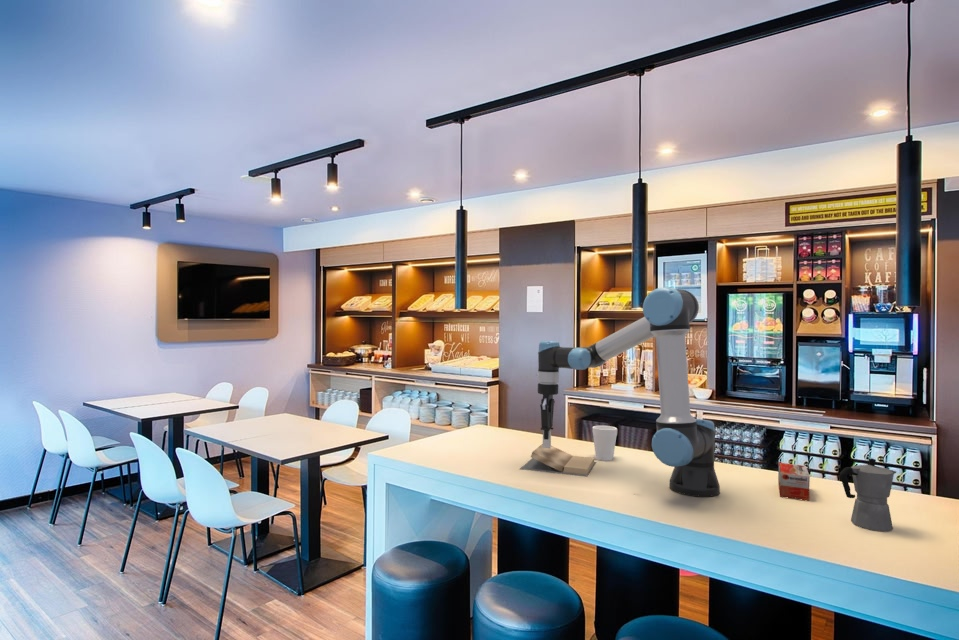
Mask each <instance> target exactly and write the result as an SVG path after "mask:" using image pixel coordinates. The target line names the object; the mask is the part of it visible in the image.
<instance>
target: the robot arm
mask: <svg viewBox="0 0 959 640" xmlns="http://www.w3.org/2000/svg"><path fill="white" fill-rule="evenodd" d="M699 309H700V306H699V301H698V299H697V298H696V296H695V295H694V294H693V293H692V292H691V291H689V290H686V289H678V288H674V287H672V286H671V287H670V286H668V287H667V286H665V287H657V288H655V289H654V290H651V291H650V292H649V293H648V295H646V297H645V299H644V301H643V303H642V313H643V315H644V316H643V317H640V318H639V319H637V320H636V321H634V322H632V323H629V324H628V325H626V326H625V327H622V328H620V329H619V330H617V331H616V332H614V333H611V334H609V335H608V336H606V337H604V338H603V339H600V340H599V341H597V342H595V343H593V344H591V345H589V346H585V347H583V346H582V347H578V346H577V347H564V346H560V342H559V341H558V340H541V341H540V342H539V343H538V352H537V355H538V359H537V360H538V361H537V362H538V366H537V367H538V369H537V371H538V372H537V373H536V376H537V382H538V384H537V393H538V395H542V398H541V400H540V401H541V402H540V405H539V407H540V419H541V421H540V422H541V424H540V425H541V427H540V431H542V444H543V448H549V449H550V448H551V446H552V430H554V427H553V426H554V425H553V423H554V409H555V407H554V406H555V402H556V401H555V399H554V396H556V395H558V394H559V384H558V383H559V382H560V380H559V379H560V375H559V374H560V373H559V372H560V369H569V370H571V369H572V370H577V371H578V370H579V371H580V370H583V371H584V370H586V369H588V368H598V367H601V366H603V365H604V364H605V362H607V361H608V360H611V359H613V358H615V357H616V356H618V355H621V354H623V353H624V352H626V351H628V350H630V349H632V348H634V347H636V346H638V345H640V344H642V343H644V342H646V341H649V340H650V339H652V338H655V344H656V347H655V348H656V362H657V375H658V388H659V389H658V390H659V408H660V415H659V417H657V419H656V420H655V422H656V423H655V425H656V432H655V433H654V434H653V435H652V439H651V448H652V452H653V453H654V456H655V457H656V458H657V460H659V461H660V463H662V464H664V465H665V466H668V467H672V468H673V467H674V468H673V470H672V473H671V475H670V477H669V478H670V479H669V489H670V490H672V491H674V492H675V493H679V494H681V495H686V496H693V497H702V498H703V497H705V498H708V497H715V496H718V495H720V493H721V492H720V491H721V489H720V488H721V487H720V483H719V480H718V476H717V473H716V470H715V443H716V441H715V438H716V437H715V436H716V435H715V434H716V430H715V429H716V428H715V423H714V421H712V420H707V419H701V418H695V417H694V416H693V415H692V413H691V403H690V388H689V375H688V359H687V346H686V344H687V343H686V335H687V334H688V333H689V332H690V330H691V327H690V324H691V323H692V322H693V321H695V319H696V318H697V316H698V313H699Z"/></svg>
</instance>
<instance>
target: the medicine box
mask: <svg viewBox="0 0 959 640" xmlns="http://www.w3.org/2000/svg"><path fill="white" fill-rule="evenodd" d="M777 477H778V478H777V481H778V483H777V484H778V492H779V498H783V497H788V498H787V499H795V498H796V500H798V499H802V500H801V501H805V500H807V501H806V502H809V501H810V482H811V481H810V477H811V476H810V473H809V471H808V467H807V466H806V465H804V464H803V465H802V464H793V463H787V462H786V463H785V462H778V476H777Z"/></svg>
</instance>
